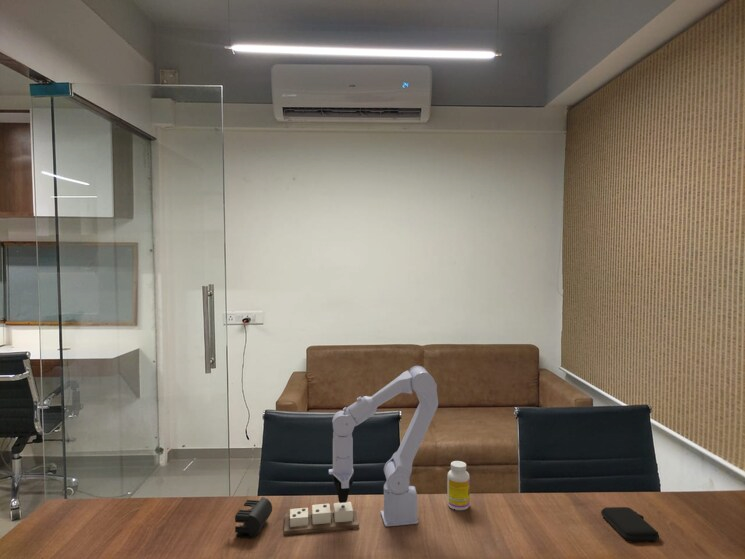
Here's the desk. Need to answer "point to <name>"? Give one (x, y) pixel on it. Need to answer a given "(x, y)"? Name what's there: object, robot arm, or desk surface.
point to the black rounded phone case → (630, 524)
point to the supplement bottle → (458, 486)
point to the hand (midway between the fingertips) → (342, 501)
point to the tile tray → (320, 525)
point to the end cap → (252, 518)
